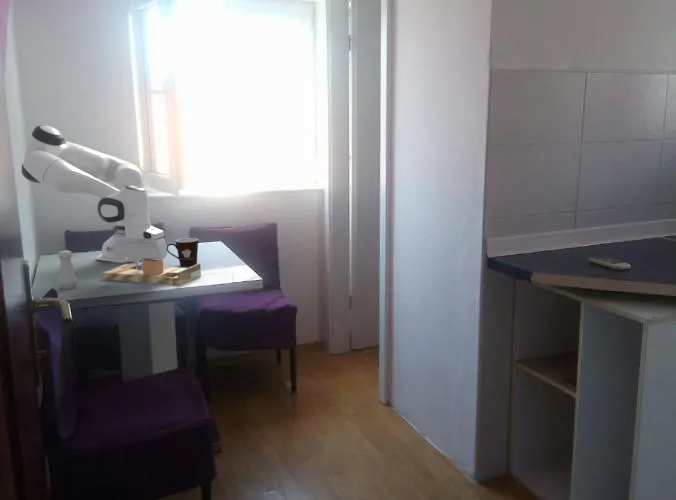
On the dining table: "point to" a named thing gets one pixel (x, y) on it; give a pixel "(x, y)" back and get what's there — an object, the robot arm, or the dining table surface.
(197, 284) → the dining table surface
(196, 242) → the coffee mug
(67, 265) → the salt shaker
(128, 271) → the trap box
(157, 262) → the block
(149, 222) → the robot arm
